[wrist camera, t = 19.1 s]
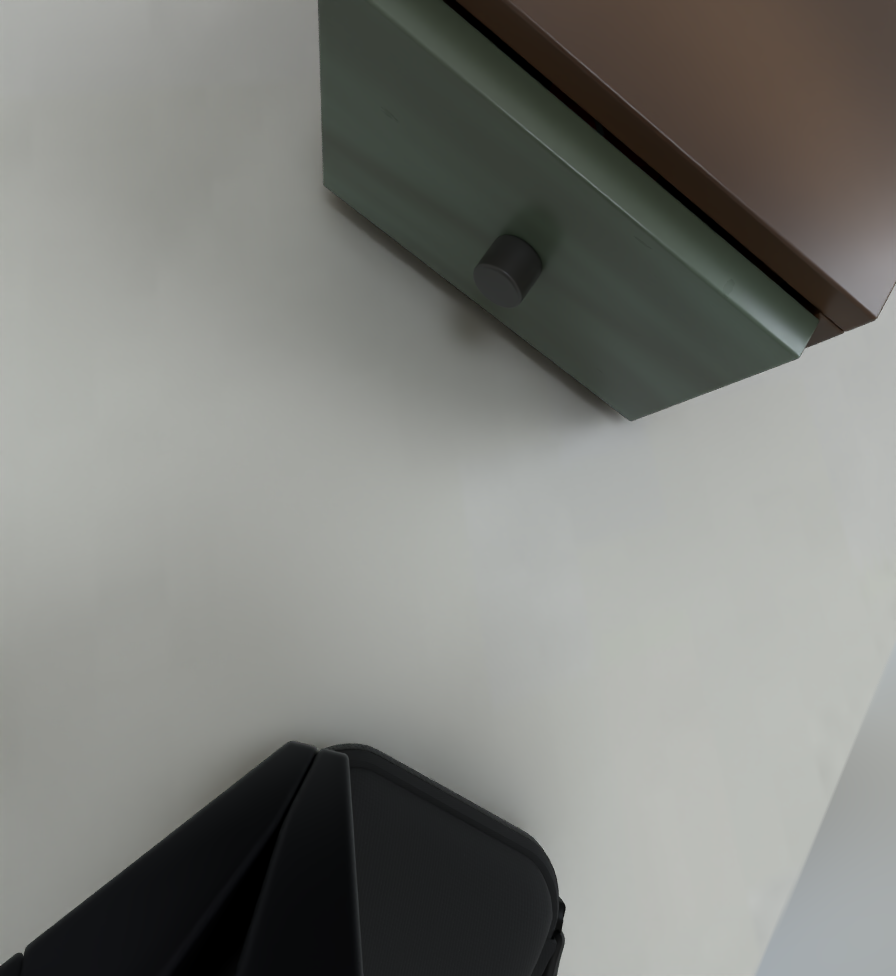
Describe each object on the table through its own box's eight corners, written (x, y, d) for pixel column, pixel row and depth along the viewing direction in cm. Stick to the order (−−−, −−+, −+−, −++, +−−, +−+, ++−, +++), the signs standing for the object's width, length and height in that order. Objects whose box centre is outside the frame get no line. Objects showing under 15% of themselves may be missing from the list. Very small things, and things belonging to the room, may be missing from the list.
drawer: (614, 448, 19) (778, 399, 12) (300, 211, 18) (278, -6, 11) (789, 162, 22) (1007, -14, 15) (532, -67, 20) (639, -388, 13)
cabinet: (644, 411, 21) (878, 321, 12) (328, 166, 19) (324, -158, 10) (805, 148, 23) (1092, -86, 15) (542, -88, 22) (688, -519, 13)
